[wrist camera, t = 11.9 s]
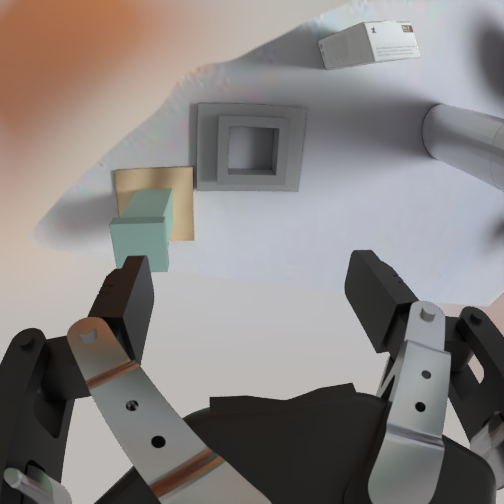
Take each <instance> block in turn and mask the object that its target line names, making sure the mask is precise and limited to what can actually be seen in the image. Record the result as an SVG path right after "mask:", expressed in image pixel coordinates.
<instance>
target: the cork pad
mask: <svg viewBox="0 0 504 504" xmlns="http://www.w3.org/2000/svg"><path fill="white" fill-rule="evenodd" d="M115 182H116V192H117V202H118V210H119V218H120V216H121V215H122V213H123V212H124V210H125V208H126V207H127V205H128V204H129V202H130V201H131V199H132V198H133V196H134V195H135V193H136V192H137V190H140V189H166V188H172V190H173V213H174V223H173V227H172V232H171V236H170V241H189V240H194V216H193V166H184V167H157V168H138V169H122V170H115Z"/></svg>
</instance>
